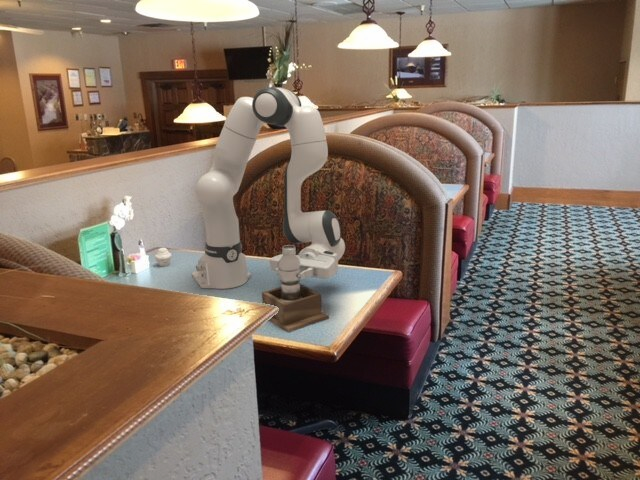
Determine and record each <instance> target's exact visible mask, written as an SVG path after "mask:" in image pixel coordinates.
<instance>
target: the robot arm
mask: <svg viewBox="0 0 640 480" xmlns="http://www.w3.org/2000/svg"><path fill="white" fill-rule="evenodd" d="M265 124H268V125H271V126H272V125H273V126H279V127H285V128H286V130H288V133H289V138H290V139H289V140H290V146H291V153H290V154H291V156H290V160H289V163H288V164H287V165H286V166H285V170H284V177H283V179H284V182H283V183H284V185H283V188H284V189H283V190H284V192H283V194H284V198H283V199H284V200H283V204H284V206H283V207H284V209H283V210H284V211H283V212H284V213H283V222H282V233H283V235H284V237H285V238H286V240H288V241H289V242H290V243H291V244H292V245H300V244H305V243H311V244H310V245H307V246H306V247H304V248H303V249H301V250H300V251H299V252H298V254H295V255H296V256H297V258H298V259H299V261H300V263H301V270H300V271H299V272H298V278H300V280H301V279H302V280H303V279H305V278H309V277H312V278H317V279H323V280H329V279H331V278H333V277H334V276H336V275H337V274H338V272H339V271H338V270H339V260H341V259H342V257H343V255H344V253H345V249H346V245H345V244H346V243H345V241H344V239H343V238H342V227H341V224H340V221H339V219H338V216H336V215H335V213H333V212H332V211H331V210H316V211H308V212H307V211H306V212H304V211H302V208H301V205H302V204H301V203H302V201H301V199H302V198H301V197H302V196H301V194H302V192H301V191H302V189H301V188H302V185H303V182H304V181H305V180H306V179H307V178H308V177H310V176H311V175H313V174H315V173H317V172H318V171H319V170H320V169H322V167H324V165H325V164H326V162H327V160H328V155H329V148H328V142H327V134H326V131H325V126H324V123H323V119H322V116H321V114H320V111H319V110H318V108H315V107H313V106H308V105H305V106H304V105H303V106H302V101H301V99H300V97H299V96H298V95H297V94H296V92H294V91H293V90H289V89H287V88H283V87H278V86H277V87H273V86H268V87H264V88H262V89H260V90H259V91H257V93H255V95H254V97H252V96H251V97H250V96H241V97H239V98H238V99H237V100H236V101H235V103H234V104H233V106H232V108H231V109H230V111H229V113H228V115H227V116H226V119H225V122H224V124H223V127H222V129H221V131H220V134H219V137H218V140H217V142H216V144H215V147H214V149H215V151H214V155H213V161H212V165H211V168H210V169H209V171H208V172H207V173H206V172H205V174H203V175H202V176H201V177H200V178H199V179H198V181H197V183H196V185H195V189H194V194H195V197H196V199H197V201H198V203H199V206H200V208H201V213H202V217H203V219H204V220H203V222H204V229H205V238H206V242H205V245H204V246H205V247H204V254H203V255H202V256H201V257H200V258H199V259H198V261H197V264H196V265H195V268H196V271H193V272H192V273H191V276H192V278H193V279H194V280H195V282H196V283H197V284H199V285H200V286H199V285H198V286H199V287H200V288H201V287H202V288H201V289H218V290H219V289H221V290H222V289H223V290H224V289H226V290H227V289H232V288H236V287H239V286H240V287H241V286H242V285H244V284H246V283H247V281H248V279H249V278H251V277H252V274H251V272H249V271H248V265H247V259H246V254H244V253H242V250H243V245H242V241H241V240H240V239H241V238H240V226H239V225H240V223H239V217H238V216H237V213H236V209H235V206H234V196H235V195H236V194H237V193H238V192H239V189H240V186H241V184H242V182H243V181H242V180H243V178H244V174H245V171H246V168H247V165H248V161H249V158H250V156H251V154H252V151H253V149H254V147H255V144H256V141H257V139H258V135H259V133H260V131H261V129H262V127H263V126H264V125H265ZM282 256H283V254H282V253H281V254H278V255H275V256H273V257H270V258H269V267H270V270H271V271H275V274H276V275H278V276H280V275H279V270H278V262H279V260H280V259H281V257H282Z"/></svg>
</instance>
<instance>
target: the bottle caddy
mask: <svg viewBox="0 0 640 480" xmlns="http://www.w3.org/2000/svg"><path fill="white" fill-rule="evenodd" d="M300 292H301V297H302V298H301V299H297V300H294V301H291V302H287V303H286V302H284V301H282V300H280V298H281V286H280V287H276V288H271V289H269V290H264V291H261V297H262V300H261V302H262V304H263V303H265V304H270V305H274V306H277V307H278V308H279V311H278V313H277V314H276V315H274V316H273V317H272V318H271V319H270V320H268V321H270V322H271V323H273V324H274V325H275V326H278V327H279V328H280V329H282V330H284V331H285V332H287V333H291V332H293V331H296V330H299V329H302V328H305V327H308V326H311V325H314V324H318V323H320V322H323V321H325V320H328V319H330V314H328V313H325V312H323V309H322V307H323V305H322V294H321V293H320V292H317V291H315V290H314V289H312V288H309V287H307V286H305V285H304V284H301V283H300Z"/></svg>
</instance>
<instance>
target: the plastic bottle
mask: <svg viewBox="0 0 640 480" xmlns="http://www.w3.org/2000/svg"><path fill="white" fill-rule="evenodd" d="M281 254H283V256H282V257H281V259H280V260H279V262H278V270H279V275H278V276H279V279H280V287H281V298H280V300H282V301H284V302H286V303H287V302H291V301H294V300H297V299H301V298H302V297H301V292H300V284H301V283H300V282H301V278H298V272H299V271H300V270H301V263H300V261H299V259H298V258H297V256H296V255H297V250H296V246H295V245H294V244H287V245H283V246H282V249H281Z"/></svg>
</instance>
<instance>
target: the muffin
mask: <svg viewBox="0 0 640 480" xmlns="http://www.w3.org/2000/svg"><path fill="white" fill-rule="evenodd" d="M156 252H157V253H156V254H155V255H154V259H155V261H156V263H157V264H158V266H159V267H168V266H169V265H170V262H171V260H172V253H171V252H169V251H168V249H167V248H166V247H160V248H158V249H157V251H156Z"/></svg>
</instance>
